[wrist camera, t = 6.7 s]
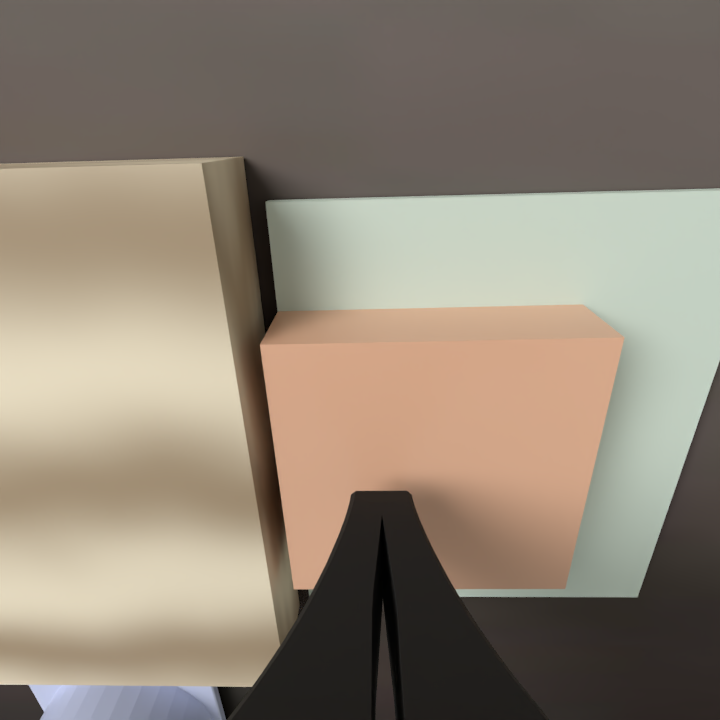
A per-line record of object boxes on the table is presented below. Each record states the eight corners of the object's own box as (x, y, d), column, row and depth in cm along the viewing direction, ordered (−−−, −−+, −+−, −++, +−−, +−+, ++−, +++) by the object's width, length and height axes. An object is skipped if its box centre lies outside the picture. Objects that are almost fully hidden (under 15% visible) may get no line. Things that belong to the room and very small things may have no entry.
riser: (299, 604, 18) (286, 687, 15) (-49, 603, 18) (-121, 683, 16) (243, 156, 11) (201, 163, 8) (-314, 172, 11) (-525, 184, 9)
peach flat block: (540, 531, 15) (565, 589, 14) (303, 532, 16) (293, 589, 14) (583, 304, 12) (624, 337, 10) (278, 311, 12) (259, 345, 10)
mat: (631, 587, 17) (637, 596, 17) (310, 587, 18) (309, 596, 17) (766, 187, 11) (779, 189, 11) (268, 200, 11) (265, 201, 11)
